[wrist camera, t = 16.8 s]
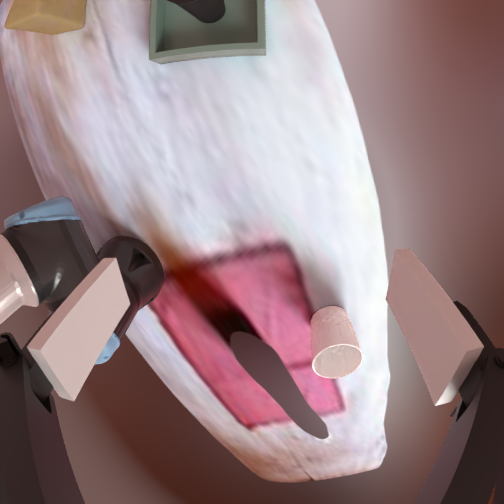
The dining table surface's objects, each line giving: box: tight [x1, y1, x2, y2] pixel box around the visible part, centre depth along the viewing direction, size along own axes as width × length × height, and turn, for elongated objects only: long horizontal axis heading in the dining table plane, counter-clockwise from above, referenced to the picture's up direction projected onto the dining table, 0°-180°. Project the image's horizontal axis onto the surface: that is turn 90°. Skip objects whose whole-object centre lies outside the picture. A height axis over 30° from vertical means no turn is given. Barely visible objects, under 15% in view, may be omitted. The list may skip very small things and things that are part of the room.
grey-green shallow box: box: [149, 0, 266, 64], centre depth 32 cm, size 17×17×5 cm
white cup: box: [310, 306, 363, 378], centre depth 54 cm, size 10×10×12 cm
